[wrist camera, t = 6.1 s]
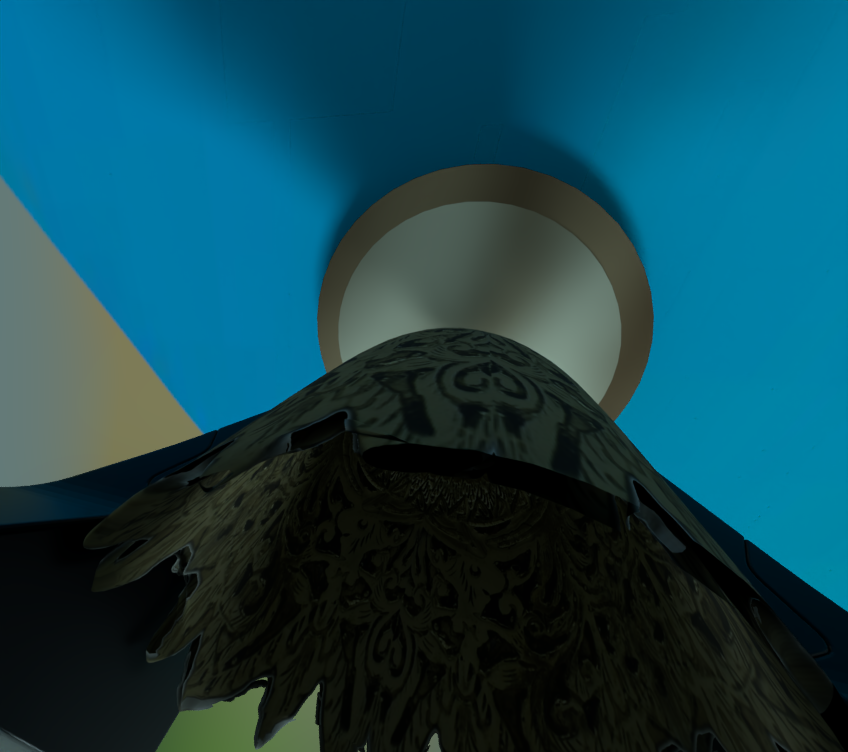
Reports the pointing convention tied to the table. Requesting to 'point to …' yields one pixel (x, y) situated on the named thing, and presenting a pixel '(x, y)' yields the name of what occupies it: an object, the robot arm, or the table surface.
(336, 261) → the hub plate
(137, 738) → the robot arm
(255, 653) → the cup
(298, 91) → the table surface
